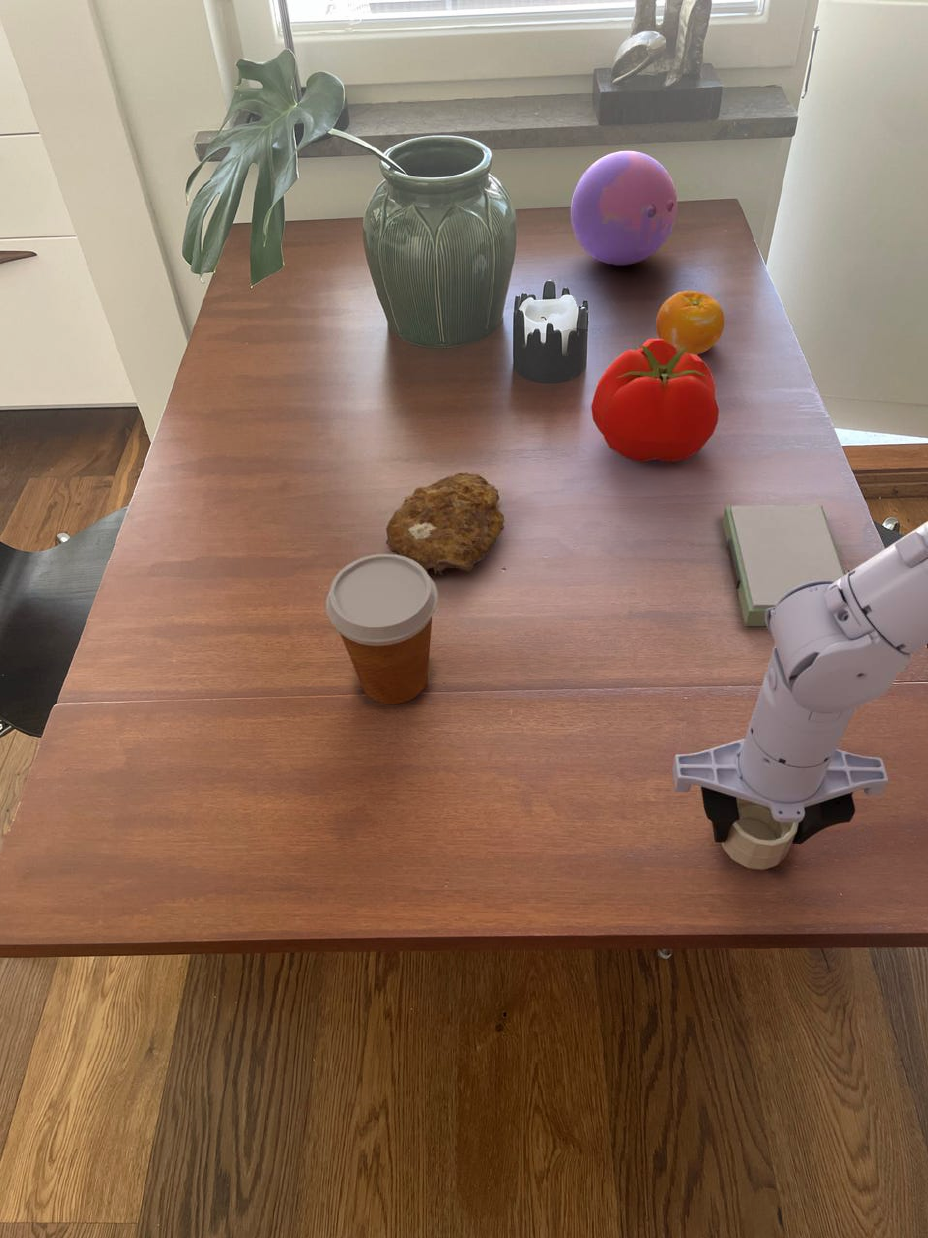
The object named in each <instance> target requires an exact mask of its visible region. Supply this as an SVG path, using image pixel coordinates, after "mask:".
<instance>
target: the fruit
mask: <svg viewBox="0 0 928 1238" xmlns="http://www.w3.org/2000/svg"><path fill="white" fill-rule="evenodd" d="M724 313H725V312H724V310H723V308H722V306H721V304H720V303H719V302H718V301H717V300H716V299H715V298H714V297H712V296H711V295H708V294H707V293H705V292H701V291H695V290H682V291H679V292H677V293H674V294H672V295H671V296H670V297H668V298H667V299H666V300H665V301H664V303H663V304H662V305H661V306H660V309H659V310H658V313H657V316H656V321H655V330H656V334H657V336H658V337H657V338H658V339H663V340H665V341H666V342H667V343H669V344H670V345H672V346H673V347H675V348H676V350H677V352H679V351H680V350H683V349H685V348H687V347H689V348H688V349H687V350H686V351H684V352H683V354H688V353H690V354H695V355H701V354H703V353H705V352H707V351H709V349H711V348H712V347H714V346H715V345H716V344H717V343H718V342H719V340H720V339H721V337H722V336H723V332H724V328H725V314H724Z"/></svg>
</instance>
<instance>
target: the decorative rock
mask: <svg viewBox="0 0 928 1238" xmlns="http://www.w3.org/2000/svg"><path fill="white" fill-rule="evenodd" d="M499 501H500V495H499V490H498V489H496V488H495V485H493V484H491V483H489V481H488V480H487V479H486V478H485V477H483V476H482V475H480V474H479V473H469V472H458V473H455V474H451V475H448V476H445V477H444V478H441V479H439V480H437V481H436V482H434V483H432V484H429V485H428V486H423V487H416V488H415V489H414V491H413V493H412V494H411V495H410V496H407V497H405V499H404V502H403V503H402V504H401V506H400V507H399V508H398V509H395V512H394V513H393V515H392V517H391V518H390V519H389V521H388V523H387V526H386V528H385V529H386V530H385V531H386V537H387V539H386V542H385V544H386V545H388V547H389V549H390V551H391V552H392V553H395V555H400V556H404V557H407V558H409V559H412V560H414V561H415V562H417V563H418V564H419V565H421V566H422V567H423V568H424V570H425V571H426V572H427V574H428V575H429V572H430V569H433V570H434V573H435V574H436V575H437V574H439V575H441V576H443V571H444V570H445V569H454V568H457V569H459V570H462V571H466V572H468V571H469V570H474V569H475V568H474V564H475V563H477V562H480V561H482V560H483V559H484V558H486V557H487V556H488V554H489V552H490V550H491V549H492V547H493V546H494V544H495V542H496V541H497V539H498V538H500V536H501V535H502V533H503V532H502V531H503V530H505V526H504V523H505V522H506V521H505V515H504V514H503V513H502V512H501V511H500V510H498V508H499V507H500V504H499Z"/></svg>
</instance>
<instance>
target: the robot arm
mask: <svg viewBox="0 0 928 1238" xmlns="http://www.w3.org/2000/svg"><path fill="white" fill-rule="evenodd" d="M765 622H766V625H767V626H766V628H767V631H768V633H769V634H770V636H771V637H772V639H773V641H774V646H773V649H772V653H771V656H770V659H769V663H768V666H767V668H766V672H765V674H764V677H763V681H762V684H761V687H760V690H759V693H758V696H757V699H756V702H755V706H754V709H753V712H752V716H751V717H750V718H751V719H750V723H749V725H748V729H747V731H746V735H745V738H741V739H738V740H735V741H732V742H729V743H725V744H721V745H718V746H715V747H711V748H708V749H705V750H701V751H697V752H694V753H682V754H680V753H679V754H675V755H674V759H673V763H672V768H671V770H672V771H671V772H672V780H673V787H674V788H673V789H674V792H675V793H688V792H690V790H691V786H692V785H694V786H698V787H700V790H701V798H702V804H703V810H704V813H705V815H706V819H707V820H709V821H710V822H711V824H712V831H713V838H714V842H715V843H717V844H718V843H719V844H722V843H724V842H725V841H726V840H727V837H728V834H729V830H730V828H731V826H732V825H733V824H734V822H736V821H737V820H740V817H739V811H738V805H737V798H740V799H743V800H746V801H750V802H753V803H756V804H759V805H762V806H765V807H768V808H769V809H770V810H771V812H772V816H773V818H774V819H775V820H776V821H778V822H799V824H798V829H797V832H796V835H795V837H794V839H793V841H792V843H791V844H792V845H802V844H803V843H805V842H807V841H808V840H809V839H811V838H812V837H814V835H816V834H818V833H819V832H821V831H823V830H825V829H827V828H829V827H832V826H835V825H839V824H844V823H845V824H846V823H850V822H851V821H852V819H853V817H854V815H855V814H856V805H855V802H854V798H853V794H854V793H855V792H858V791H861V790H863V791H864V793H865V794H866V795H867V796H877V797H878V796H879V797H880V796H882V794H883V792H884V791H885V789H886V787H887V785H888V783H889V777H888V774H887V770H886V767H885V764H884V760H883V758H882V757H876V756H875V757H874V756H873V757H872V756H865V755H859V754H855V753H852V752H848V751H846V750H841V749H838V747H839V744H840V742H841V740H842V738H843V737H844V734H845V731H846V729H847V726H848V725H849V723H850V720H851V718H852V716H853V714H854V712H855V710H856V708H859V707H861V706H863V705H866V704H868V703H870V702H872V701H875V700H877V699H879V698H881V697H882V696H883V695H884V694H886V693H887V692H888V691H889V690H890V688H891V687H892V686H893V684H894V683H895V681H896V678H897V676H898V675H899V674H900V673H901V672H902V671H904V670H906V669H908V668H909V665H910V664H911V663H912V660H911V654H913V653H914V652H917V651H918V650H919V649H922V648H923V647H926V646H927V645H928V520H927V521H925V522H924V523H923V524H921V525H919V526H918V527H916V528H915V529H913V530H912V531H910V532H909V533H907V534H906V535H904V536H903V537H901V538H900V539H898V540H897V541H895V542H893V543H892V544H890V545H889V546H887V547H886V548H884V549H883V550H881V551H879V552H878V553H877V554H875V555H874V556H871V557H870V558H869V559H867V560H865V561H864V562H863V563H861V564H860V565H858V566H857V567H855V568H853V569H852V570H850V571H849V572H847V573H845V575H844V576H843V577H841V578H840V579H838V580H837V581H833V580H817V581H811V582H807V583H804V584H802V585H799V586H797V587H795V588H793V589H792V590H790V591H789V592H787V593H786V594H785V595H784V596H783V597H782V598H781V599H780V600H779V602H778V604H777V605H776V606H775V607H772V608H768V609H767V610H766V612H765Z"/></svg>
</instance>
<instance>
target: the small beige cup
mask: <svg viewBox="0 0 928 1238" xmlns="http://www.w3.org/2000/svg"><path fill="white" fill-rule="evenodd" d="M737 805H738V811H739V817H740V820H737V821H736V822H734V824H733V825H732V826H731V828H730V830H729V834H728V837H727V840H726V841H725V842H724V843H721V847H722V849H723V850H724V852H725V853H726V854H727V855H728V856H729V858H730V859H731V860H733V861H734V862H736V863H738V864H740V865H741V866H744V867H745V868H747V869H753V870H760V871H763V870H767V869H769V868H774V867H776V866H778V865H779V864H780V863H781V862H782V861H783V860H784V858H785V857H786V856H787V854H788V852H789V850H790V848H791V845H792V844H793V843H792V841H793V839H794V837H795V835H796V832H797V829H798V824H799V822H778V821H776V820H775V819H774V818H773V816H772V812H771V810H770V809H769V808H768V807H765V806H762V805H759V804H756V803H753V802H750V801H746V800H743V799H740V798H737Z"/></svg>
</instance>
